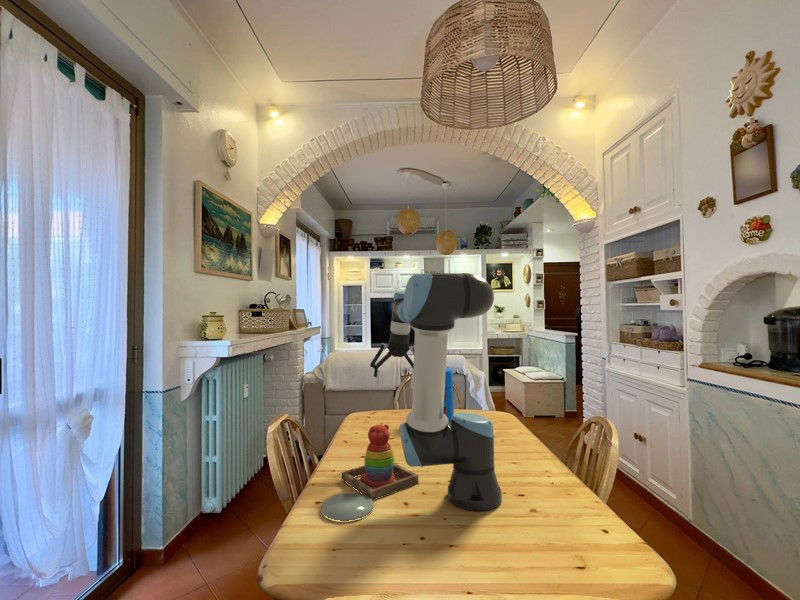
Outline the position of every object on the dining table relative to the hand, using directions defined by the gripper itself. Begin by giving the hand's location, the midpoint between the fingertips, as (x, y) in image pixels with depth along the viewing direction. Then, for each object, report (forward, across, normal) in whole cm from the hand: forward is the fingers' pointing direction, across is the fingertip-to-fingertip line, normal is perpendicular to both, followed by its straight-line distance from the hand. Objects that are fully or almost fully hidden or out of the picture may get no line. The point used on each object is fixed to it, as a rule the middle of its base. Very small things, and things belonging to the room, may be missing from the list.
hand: (394, 386), depth 148 cm
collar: (+22, +4, +29) cm, 37 cm away
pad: (+21, +13, +45) cm, 51 cm away
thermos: (+26, -27, -32) cm, 50 cm away
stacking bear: (+22, +4, +29) cm, 37 cm away
